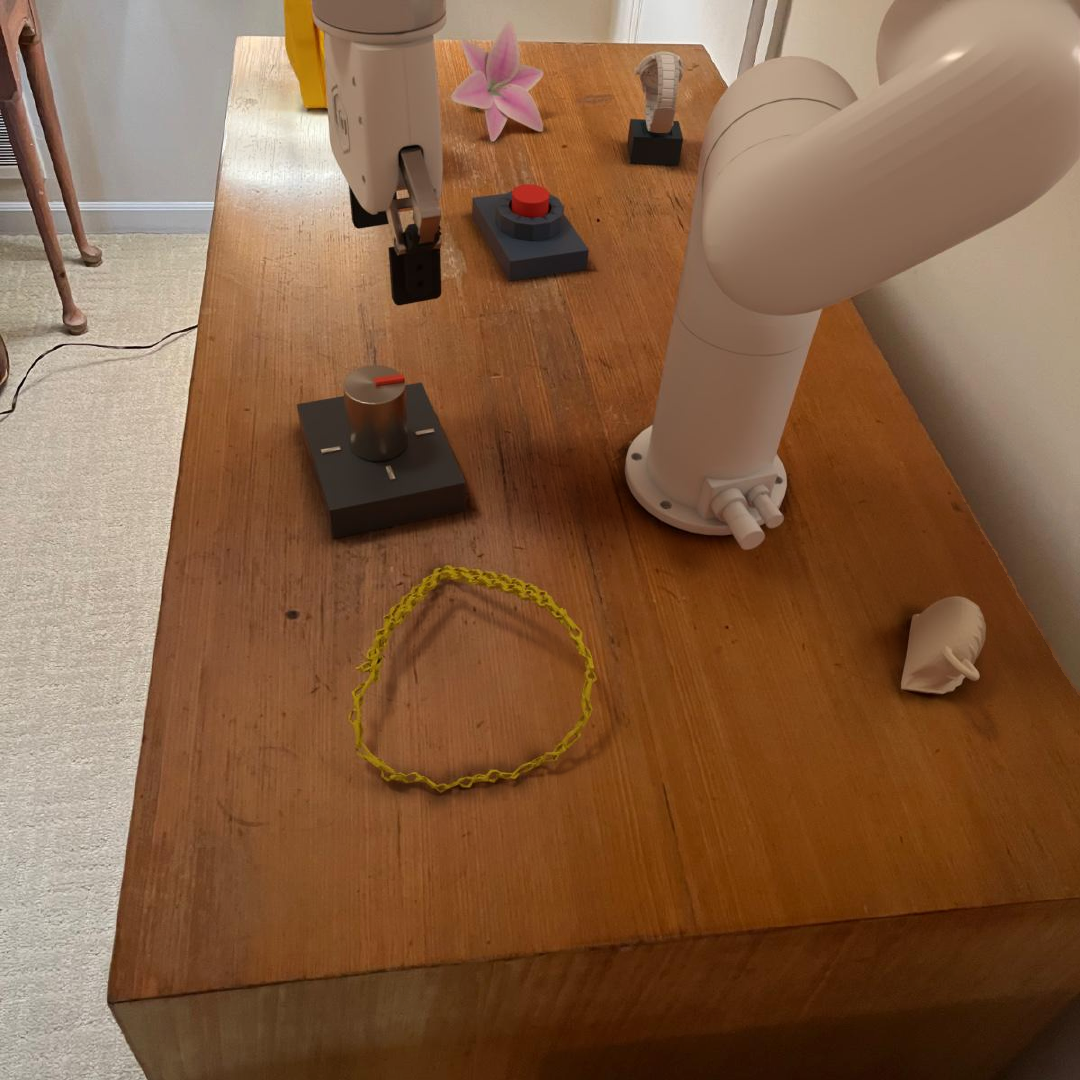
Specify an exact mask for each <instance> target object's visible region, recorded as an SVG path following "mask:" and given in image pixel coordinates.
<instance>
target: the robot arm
mask: <svg viewBox="0 0 1080 1080" xmlns="http://www.w3.org/2000/svg"><path fill="white" fill-rule="evenodd" d="M311 5H312V12H313V21H314V23H315V25H316V26H317V27H318V28H319V29H320V30H321V31H323V32H324V55H325V73H326V89H327V105H328V109H327V121H328V135H329V143H330V148H331V152H332V154H333V157H334V159H335V161H336V163H337V165H338V167H339V169H340V171H341V173H342V175H343V177H344V179H345V180H346V182H347V184H348V193H349V202H350V203H349V204H350V211H351V212H350V213H351V222H352V224H353V226H354V228H356V229H358V230H359V229H360V230H361V229H365V228H372V227H373V228H374V227H379V226H386V225H388V227H389V231H390V235H391V239H392V245H393V246H388V247H387V248H388V263H389V274H390V275H389V277H390V294H391V300H392V302H393V303H394V304H395V305H396V306H405V305H409V304H415V303H420V302H425V301H426V302H427V301H431V300H436V299H439V298H440V297H441V296H442V263H441V262H442V261H441V258H442V257H441V248H442V238H441V236H442V232H441V230H442V227H441V225H440V224H441V220H442V213H441V212H442V210H441V206H440V203H439V201H440V199H441V197H442V194H443V193H442V192H443V173H444V172H443V171H444V170H443V167H444V166H443V137H442V135H443V134H442V119H441V106H440V105H441V104H440V92H439V80H438V79H439V78H438V77H439V72H438V69H437V68H438V67H437V57H436V47H435V38H434V35H436V34H437V33H438V32H440V31H442V29H443V28H444V27H445V25H446V24H447V0H311ZM875 62H876V63H875V64H876V70H877V71H876V72H877V77H878V84H879V85H878V87H876V88H874V89H872V90H871V91H869V92H868V93H866V94H864V95H862V97H860V98H858V95H857V93H856V92H855V91H854V89H853V87H852V86H851V84H850V83H849V82H848V81H847V80H846V79H845V78H844V77H843V76H842V75H841V74H840V73H839V72H838V71H836V70H835V69H834V68H833V67H831V65H828V64H826V63H824V62H822V61H820V60H817V59H814V58H811V57H805V56H799V55H797V56H795V55H788V56H787V55H786V56H779V57H775V58H771V59H767V60H765V61H762V62H759V63H758V64H756V65H753V66H752V67H750V68H749V69H747V70H746V71H744V72H743V73H742V74H740V75H739V76H738V77H737V78H736V79H734V81H732V82H731V84H730V85H728V87H727V88H726V90H725V91H724V92H723V94H722V95H721V96H720V98H719V99H718V101H717V103H716V104H715V106H714V108H713V110H712V112H711V115H710V116H709V119H708V121H707V124H706V127H705V129H704V134H703V138H702V141H701V142H702V143H701V148H700V154H699V159H698V160H699V161H698V167H697V175H696V182H695V189H694V196H693V202H692V210H691V215H690V222H689V228H688V234H687V235H688V236H687V242H686V247H685V253H684V257H683V258H684V259H683V264H682V268H681V269H682V270H681V274H680V280H679V286H678V290H677V295H676V296H677V297H676V301H675V306H674V310H673V315H672V320H671V326H670V331H669V335H668V342H667V347H666V352H665V357H664V364H663V368H662V373H661V379H660V384H659V388H658V389H659V390H658V393H657V394H658V395H657V400H656V406H655V409H654V410H655V411H654V416H653V421H652V424H651V425H650V426H648V427H647V428H645V429H643V430H642V431H641V432H640V433H639V434H638V435H637V436H636V437H635V438H634V439H633V441H632V442H631V444H630V445H629V447H628V449H627V453H626V458H625V465H624V475H625V481H626V484H627V486H628V488H629V491H630V493H631V494H632V495H633V497H634V498H635V500H636V501H637V503H638V504H639V505H640V506H642V507H643V508H644V509H645V510H646V511H647V512H648V513H649V514H650V515H652V516H654V517H655V518H657V520H660V521H661V522H663V523H665V524H667V525H670V526H671V527H674V528H677V529H679V530H683V531H686V532H689V533H693V534H699V535H705V536H728V535H729V536H730V535H732V536H733V537H734V539H735V541H736V542H737V543H738V545H739V547H740V548H741V550H744V551H748V550H753V549H754V548H758V547H759V546H760V545H761V544H762V543H763V541H764V540H765V538H766V537H765V532H764V531H763V529H762V528H761V526H762V525H764V524H765V526H766V528H768V529H775V528H777V527H779V526H780V525H781V524H783V522H784V520H785V517H784V515H783V513H782V512H781V511H780V508H781V505H782V503H783V500H784V497H785V495H786V491H787V486H788V481H787V479H788V478H787V472H786V469H785V466H784V463H783V462H782V460H781V458H780V456H779V455H778V449H779V447H780V443H781V440H782V437H783V434H784V430H785V427H786V423H787V420H788V417H789V414H790V411H791V408H792V405H793V402H794V399H795V395H796V391H797V389H798V387H799V382H800V380H801V375H802V373H803V369H804V367H805V364H806V361H807V357H808V353H809V351H810V347H811V344H812V341H813V338H814V335H815V333H816V330H817V327H818V324H819V321H820V317H821V314H822V312H823V309H826V308H828V307H829V308H830V307H832V306H835V305H837V304H839V303H842V302H844V301H847V300H849V299H851V298H853V297H855V296H857V295H860V294H862V293H864V292H866V291H868V290H869V289H872V288H874V287H876V286H878V285H881V284H882V283H884V282H886V281H888V280H890V279H892V278H894V277H896V276H898V275H900V274H902V273H904V272H906V271H908V270H910V269H912V268H914V267H917V266H918V265H920V264H923V263H925V262H927V261H929V260H930V259H932V258H934V257H936V256H938V255H940V254H942V253H944V252H946V251H948V250H950V249H952V248H954V247H957V246H958V245H960V244H962V243H964V242H966V241H968V240H970V239H971V238H974V237H976V236H978V235H980V234H982V233H984V232H986V231H988V230H989V229H991V228H993V227H995V226H997V225H999V224H1001V223H1002V222H1004V221H1006V220H1008V219H1010V218H1012V217H1014V216H1015V215H1017V214H1018V213H1020V212H1021V211H1023V210H1025V209H1027V208H1028V207H1030V206H1031V205H1032V204H1033V203H1035V202H1036V201H1038V200H1040V198H1042V197H1043V196H1044V195H1046V194H1047V193H1048V192H1049V191H1050V190H1052V188H1053V187H1054V186H1056V185H1057V184H1058V183H1059V182H1060V181H1061V180H1063V178H1064V177H1065V176H1066V175H1067V174H1068V173H1069V172H1070V171H1071V169H1072V168H1073V167H1074V166H1075V165H1076V163H1078V161H1079V159H1080V0H893V1H892V3H891V5H890V6H889V8H888V9H887V11H886V13H885V15H884V17H883V19H882V22H881V25H880V28H879V31H878V34H877V39H876V51H875ZM405 190H406V191H407V195H408V197H402V198H401V197H400V198H398V195H397V193H398V192H400V191H405ZM410 211H412V220H413V223H410V224H407V226H406V228H405V230H404V229H403V224H402V220H401V214H400V213H402V212H403V213H404V212H410Z"/></svg>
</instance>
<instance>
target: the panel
mask: <svg viewBox="0 0 1080 1080" xmlns="http://www.w3.org/2000/svg"><path fill="white" fill-rule="evenodd" d="M405 385H406V407H407V429H408V444H407V447H406V448H405V450H404V451H403V452H402V453H401V454H400V455H398V456H396V457H394V458H392V459H389V460H385V461H370V460H366V459H363V458H361V457H359V456H357V455H356V454H355V453H354V452H353V451H352V450H351V448H350V446H349V440H348V430H347V420H346V411H345V401H344V395H342V396H337V397H331V398H330V397H329V398H324V399H319V400H313V401H307V402H301V403H297V404H296V410H297V415H298V422H299V423H298V424H299V429H300V430H299V431H300V434H301V438H302V441H303V444H304V447H305V451H306V454H307V457H308V461H309V464H310V467H311V471H312V475H313V477H314V481H315V483H316V487H317V491H318V494H319V497H320V501H321V504H322V507H323V510H324V513H325V517H326V520H327V522H328V523H327V524H328V527H329V530H330V533H331V536H332V539H339V538H344V537H348V536H355V535H358V534H363V533H368V532H372V531H378V530H382V529H387V528H390V527H396V526H401V525H405V524H410V523H414V522H419V521H424V520H427V519H428V520H429V519H433V518H438V517H443V516H448V515H452V514H457V513H461V512H465V511H466V487H467V486H466V484H467V483H466V480H465V478H464V475H463V473H462V471H461V469H460V466H459V465H458V462H457V460H456V458H455V455H454V453H453V450H452V448H451V446H450V444H449V442H448V439H447V436H446V435H445V432H444V429H443V428H442V425H441V423H440V421H439V419H438V417H437V414H436V411H435V410H434V407H433V405H432V403H431V400H430V398H429V395H428V393H427V392H426V389H425V387H424V385H423V383H422V382H417V383H416V382H415V383H409V384H405Z"/></svg>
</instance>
